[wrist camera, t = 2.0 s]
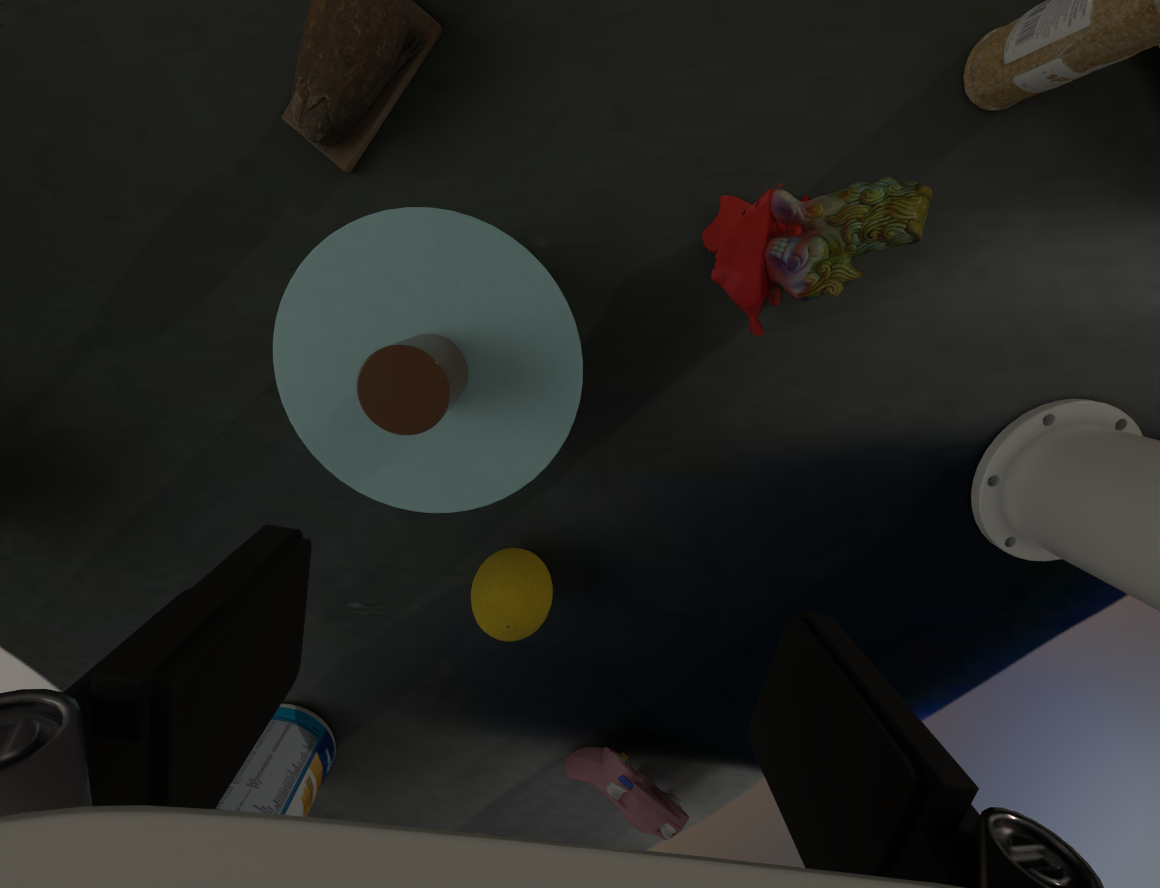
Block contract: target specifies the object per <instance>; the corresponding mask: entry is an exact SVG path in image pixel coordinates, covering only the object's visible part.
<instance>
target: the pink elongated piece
mask: <svg viewBox="0 0 1160 888" xmlns="http://www.w3.org/2000/svg"><path fill="white" fill-rule="evenodd" d="M627 760H628V756H627V755H626V754H625V753H623V752H621V753H620V754H618V753H617V752H616V751H615V750H613V749H611V750H610V749H609V748H607V747H605V748H599V747H583V748H580V749H577V750H575V751H573V752H572V753H571V754H570V755H569V756H568V757H567V760H566V763H565V772H566V774H567V775H568V776H569V777H570V778H571V779H573V780H578V781H584V782H587V783H591V784H592V785H594V786H595V787H597V788H598V789H599V790H600V791H601V792H602V793H603V794H604V795H605V796H606V797H607V798H608V799H609V800H610V801H611V802H612V803H614V804H615V805H616V806H617V807H618V808H619V809H620V810H621V811H622V813H623V815H624V816H625V817H626V819H627V820H628V821H629V822H630V823H631V824H632V825H633V826H634V827H635V828H637V829H638V830H639V831H641V832H644V833H648V834H654V835H656V836H658V837H660V838H663V839H665V840H668V841H669V840H670V839H671V838H672V837H674V836H675V835H676V834H677V833H679V832H680V831H681V829H682V828H683V827H684V825H685V824H686V822H687V820H688V819H689V816H688V815H687V814H686V813H685V812H684V811H683V809H682V808H681V806H680V803H679V801H678V799H679V800H680V801H682V799H681V797H680V795H679V794H678V793H677V792H676V791H675V790H671V789H670V790H669V791H670V792H671V793H672V794H669V793H665V792H662V791H661V790H660V789H659V788H658V787H657V786H656V785H655V784H654V783H653V782H652V781H651V780H650V779H648V778H647V777H646V776H645V775H644V774H643V773H641V772H640V771H639V770H636V772H635V771H634V770H633V767H632V766H631V765H630V764H629V763H628V762H627Z"/></svg>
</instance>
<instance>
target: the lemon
mask: <svg viewBox="0 0 1160 888" xmlns="http://www.w3.org/2000/svg"><path fill="white" fill-rule="evenodd" d="M552 592H553V586H552V581H551V577H550V573H549V571H548V569H547V568H546V566H545V564H544V563H543V562H542V560H541V559H540V558H539V557H538V556H536V555H535V554H533V553H532V552H530V551H527V550H524V549H520V548H508V549H503V550H501V551H498V552H496V553H494V554H493V555H491V556H490V557H488V558H487V559H486V560H485V561H484V563H483V564H482V565H481V566H480V568H479V569H478V571H477V573H476V576H475V578H474V580H473V585H472V591H471V603H472V610H473V614H474V616H475V618H476V621H477V623H478V624H479V626H480V627H481V628H482V629H483V631H485V632H486V633H487V634H489V635H490V636H491V637H494V638H496V639H498V640H503V641H516V640H521V639H523V638H525V637H527V636H530V635H531V634H533V633H534V632H535V631H536V630H537V629H538V628H539V627H540V626H541V624H542V623H543V622H544V620H545V619H546V617H547V614H548V611H549V609H550V606H551V603H552Z"/></svg>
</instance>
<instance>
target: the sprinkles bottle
mask: <svg viewBox="0 0 1160 888" xmlns="http://www.w3.org/2000/svg"><path fill="white" fill-rule="evenodd" d="M1158 44H1160V0H1046V1H1044V2H1043V3H1041V4H1039V5H1038V6H1036V7H1034V8H1033V9H1031V10H1030V11H1028V12H1027V13H1026V14H1025V15H1023V16H1021V17H1020V18H1018V19H1016V20H1015V21H1013V22H1011V23H1010V24H1008V25H1006V26H1003V27H999V28H997V29H995V30H993V31H991V32H989V33H988V34H986V35H985V36H984V37H983V38H982V39H981V40H980V41H979V42H978V43H977V44H976V45H975V47H974V48H973V49H972V51H971V53H970V55H969V57H968V59H967V62H966V65H965V69H964V87H965V92H966V95H967V96H968V97H969V99H970V101H971V102H972V103H973V104H975V105H977V106H978V107H979V108H981V109H985V110H987V111H998V110H1003V109H1007V108H1009V107H1011V106H1012V105H1014V104H1016V103H1018V102H1019V101H1021V100H1023V99H1026V98H1028V97H1031V96H1033V95H1036V94H1038V93H1041V92H1044V91H1048V90H1050V89H1053V88H1056V87H1058V86H1060V85H1063V84H1065V83H1068V82H1070V81H1072V80H1075V79H1077V78H1079V77H1082V76H1084V75H1087V74H1089V73H1092V72H1094V71H1097V70H1099V69H1102V68H1104V67H1106V66H1109V65H1111V64H1114V63H1116V62H1119V61H1121V60H1124V59H1126V58H1129V57H1131V56H1133V55H1135V54H1137V53H1139V52H1140V51H1143V50H1146V49H1149V48H1151V47H1153V46H1156V45H1158Z"/></svg>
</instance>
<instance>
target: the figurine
mask: <svg viewBox="0 0 1160 888" xmlns="http://www.w3.org/2000/svg"><path fill="white" fill-rule="evenodd" d="M441 33H442V28H441V26H440V24H438V23H437V22H436V21H435V20H434V19H433V18H432V17H431V16H429V15H428V14H427V13H426V12H425V11H424V10H423V9H422V8H420V7H419V6H418V5H417V4H416V3H415V2H414V1H413V0H312V1H311V3H310V6H309V10H308V14H307V18H306V22H305V27H304V31H303V35H302V40H301V44H300V50H299V55H298V61H297V66H296V72H295V77H294V82H293V88H292V100H291V102H290V104H289V105H288V107H287V109H286V110H285V112H284V114H283V115H282V119H283V120H285V121H286V122H287V123H288V124H289V125H290V126H292V127H293V128H294V129H295V130H296V131H298V132H299V133H300V134H301V135H302V136H304V137H305V138H306V139H307V140H308V141H309V142H311V143H312V144H313V145H314V146H315V147H316V148H318V149H319V150H320V151H321V152H322V153H324V154H325V155H326V156H327V157H328V158H329V159H331V160H332V161H333V162H334V163H335V164H336V165H337V166H339V167H340V168H341V169H342V170H343V171H345V172H347V173H349V174H350V173H351V171H352V170H353V168H354V166H355V165H356V163H357V162H358V160H359V159H360V157H361V156H362V154H363V153H364V151H365V150H366V148H367V147H368V145H369V143H370V142H371V140H372V139H373V137H374V136H375V134H376V133H377V131H378V130H379V128H380V126H381V125H382V123H383V122H384V120H385V119H386V117H387V116H388V114H389V113H390V111H391V110H392V108H393V107H394V105H395V103H396V102H397V100H398V99H399V98H400V96H401V94H402V93H403V91H404V90H405V88H406V87H407V85H408V84H409V82H410V81H411V79H412V77H413V76H414V74H415V73H416V71H417V70H418V68H419V67H420V65H421V63H422V62H423V60H424V59H425V57H426V56H427V54H428V53H429V51H430V50H431V48H432V47H433V45H434V44H435V42H436V41H437V39H438V38H439V36H440V35H441Z"/></svg>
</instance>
